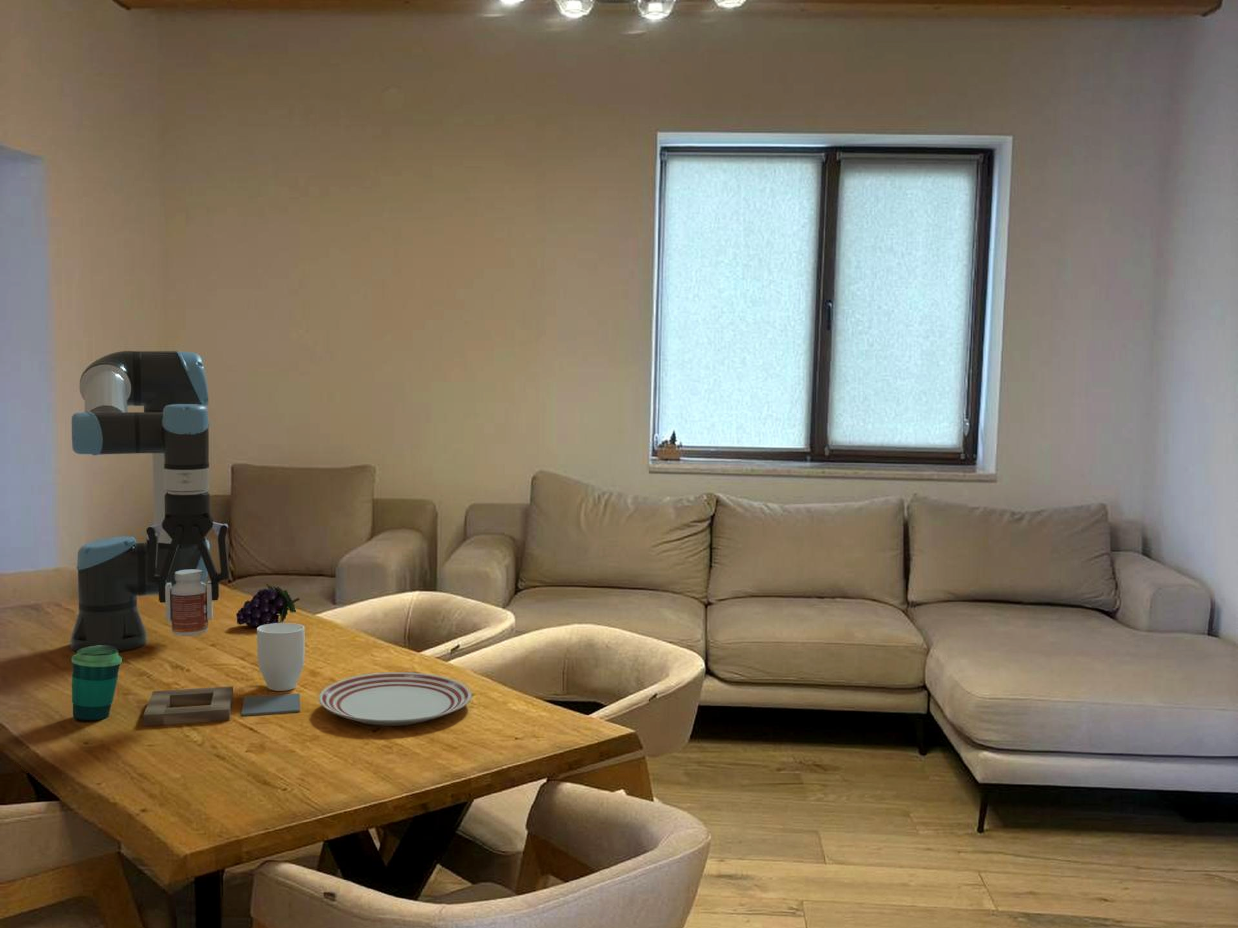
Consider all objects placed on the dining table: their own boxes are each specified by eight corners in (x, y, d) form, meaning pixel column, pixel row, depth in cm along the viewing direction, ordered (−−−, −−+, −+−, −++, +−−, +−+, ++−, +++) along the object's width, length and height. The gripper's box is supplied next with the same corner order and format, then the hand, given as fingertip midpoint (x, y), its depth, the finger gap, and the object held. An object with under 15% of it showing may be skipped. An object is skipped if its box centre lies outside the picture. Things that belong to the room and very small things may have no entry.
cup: (73, 711, 198) (71, 646, 197) (123, 706, 202) (121, 642, 200) (71, 725, 191) (69, 657, 190) (122, 720, 194) (121, 653, 193)
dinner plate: (496, 697, 212) (496, 680, 211) (425, 744, 186) (425, 725, 186) (371, 681, 221) (371, 664, 220) (287, 723, 195) (287, 705, 195)
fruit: (238, 637, 263) (297, 614, 271) (251, 640, 254) (311, 616, 262) (224, 597, 261) (284, 575, 270) (236, 598, 253) (298, 575, 261)
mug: (313, 688, 214) (313, 627, 213) (270, 697, 208) (270, 635, 207) (284, 675, 223) (284, 616, 222) (243, 683, 217) (242, 623, 216)
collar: (153, 701, 205) (153, 691, 204) (233, 696, 209) (233, 686, 208) (143, 726, 191) (143, 715, 191) (229, 720, 195) (228, 709, 195)
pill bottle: (212, 634, 198) (211, 573, 197) (175, 638, 195) (174, 576, 193) (203, 626, 203) (202, 566, 202) (168, 630, 200) (166, 570, 198)
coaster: (244, 698, 207) (244, 696, 207) (299, 695, 210) (299, 693, 210) (241, 715, 198) (241, 713, 198) (299, 711, 200) (299, 709, 200)
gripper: (125, 495, 190) (128, 626, 192) (243, 493, 195) (245, 621, 198) (131, 489, 197) (134, 616, 199) (245, 488, 202) (246, 611, 205)
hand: (189, 618), depth 199 cm, fingers closed on pill bottle, 6 cm apart
